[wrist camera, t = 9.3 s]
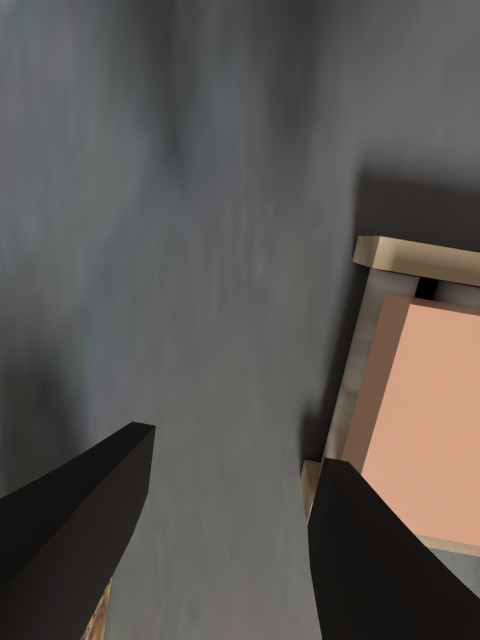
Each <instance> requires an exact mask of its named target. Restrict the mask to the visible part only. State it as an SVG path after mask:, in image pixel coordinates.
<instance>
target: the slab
mask: <svg viewBox="0 0 480 640" xmlns="http://www.w3.org/2000/svg"><path fill="white" fill-rule="evenodd" d="M341 460H343V461H348V462H350V463H351V464H352V466H353V467H354V468H355V469H356V470H357V471H358V472H359V473H360V474H361V475H362V477H363V478H364V479H365V480H366V481H367V482H368V483H369V485H370V486H371V487H372V488H373V489H374V490H375V491H376V493H377V494H378V495H379V496H380V497H381V498H382V499H383V501H384V502H385V503H386V504H387V505H388V506H389V507H390V508H391V510H392V511H393V512H394V513H395V514H396V515H397V516H398V517H399V518H400V520H401V521H402V522H403V523H404V524H405V525H406V526H407V527H408V528H409V529H410V530H411V531H412V533H413V534H418V535H423V536H428V537H434V538H439V539H444V540H449V541H455V542H460V543H465V544H471V545H476V546H480V309H479V308H473V307H468V306H462V305H456V304H450V303H444V302H439V301H433V300H427V299H421V298H416V297H410V296H404V295H398V294H392V293H387V292H386V293H385V297H384V301H383V305H382V308H381V312H380V316H379V319H378V323H377V327H376V331H375V334H374V338H373V342H372V345H371V349H370V353H369V357H368V360H367V364H366V368H365V372H364V375H363V379H362V383H361V386H360V390H359V394H358V398H357V401H356V405H355V409H354V412H353V416H352V420H351V424H350V427H349V431H348V435H347V438H346V442H345V446H344V450H343V453H342V457H341Z"/></svg>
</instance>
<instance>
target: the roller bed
mask: <svg viewBox="0 0 480 640" xmlns="http://www.w3.org/2000/svg"><path fill="white" fill-rule="evenodd" d="M352 262H355V263H358V264H361V265H364V266H368V267H371V268H370V272H369V276H368V280H367V284H366V288H365V292H364V296H363V300H362V304H361V308H360V312H359V316H358V319H357V323H356V327H355V331H354V335H353V339H352V343H351V347H350V351H349V355H348V359H347V363H346V367H345V371H344V375H343V379H342V382H341V386H340V390H339V394H338V398H337V402H336V406H335V410H334V414H333V418H332V422H331V426H330V430H329V434H328V438H327V442H326V445H325V449H324V453H323V457H322V461H321V462H316V461H311V460H304V464H303V468H302V472H301V477H300V481H301V487H302V494H303V501H304V508H305V515H306V522H307V524H308V520H309V516H310V512H311V508H312V504H313V500H314V497H315V493H316V489H317V485H318V481H319V477H320V473H321V469H322V465H323V461H324V457H326V458H332V459H337V460H341V457H342V453H343V450H344V446H345V442H346V438H347V435H348V431H349V427H350V424H351V420H352V416H353V412H354V409H355V405H356V401H357V398H358V394H359V390H360V386H361V383H362V379H363V375H364V372H365V368H366V364H367V360H368V357H369V353H370V349H371V345H372V342H373V338H374V334H375V331H376V327H377V323H378V319H379V316H380V312H381V308H382V305H383V301H384V297H385V293H386V292H387V293H392V294H398V295H404V296H410V297H414V296H415V293H416V289H417V286H418V282H419V279H420V277H418V276H422V277H428V278H434V279H440V280H439V281H438V284H437V287H436V291H435V294H434V297H433V301H439V302H444V303H450V304H456V305H462V306H468V307H473V308H479V309H480V287H479V286H480V253H477V252H471V251H465V250H459V249H453V248H447V247H442V246H436V245H430V244H424V243H418V242H412V241H406V240H400V239H394V238H388V237H382V236H358V239H357V243H356V248H355V252H354V256H353V260H352ZM414 275H416V276H414ZM474 285H475V286H474ZM414 535H415V536H416V537H417V538H418V539H419V540H420V541H421V542H422V543H423V544H424V545H425V546H426V547H430V548H436V549H441V550H446V551H451V552H457V553H462V554H467V555H472V556H478V557H480V546H476V545H471V544H465V543H460V542H455V541H449V540H444V539H439V538H434V537H428V536H423V535H418V534H414Z"/></svg>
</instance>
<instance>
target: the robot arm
mask: <svg viewBox="0 0 480 640" xmlns="http://www.w3.org/2000/svg"><path fill="white" fill-rule="evenodd" d="M155 429H156V426H154V425H148V424H143V423H137V422H131V423H129V424H128V425H126V426H125V427H123V428H122V429H120V430H118V431H117V432H115V433H114V434H112V435H111V436H109V437H108V438H106V439H104V440H103V441H101V442H100V443H98V444H97V445H95V446H93V447H92V448H90V449H89V450H87V451H85V452H84V453H82V454H81V455H79V456H77V457H76V458H74V459H72V460H71V461H69V462H68V463H66V464H64V465H62V466H60V467H59V468H57V469H55V470H53V471H51V472H50V473H48V474H46V475H44V476H42V477H41V478H39V479H37V480H35V481H33V482H32V483H30V484H28V485H26V486H24V487H22V488H20V489H19V490H17V491H15V492H13V493H11V494H9V495H7V496H4V497H2V498H0V640H81V638H82V636H83V634H84V632H85V630H86V628H87V626H88V624H89V622H90V620H91V618H92V616H93V613H94V611H95V609H96V607H97V605H98V603H99V601H100V599H101V597H102V595H103V593H104V591H105V589H106V587H107V585H108V583H109V581H110V579H111V577H112V575H113V573H114V571H115V569H116V567H117V565H118V563H119V561H120V559H121V557H122V555H123V553H124V551H125V549H126V547H127V545H128V543H129V541H130V539H131V537H132V535H133V532H134V530H135V527H136V524H137V522H138V519H139V517H140V514H141V511H142V508H143V506H144V503H145V500H146V497H147V494H148V488H149V479H150V471H151V462H152V454H153V446H154V437H155ZM308 543H309V559H310V570H311V576H312V582H313V588H314V594H315V600H316V606H317V612H318V617H319V623H320V629H321V634H322V640H480V598H479V597H477V596H476V595H475V594H474V593H473V592H472V591H471V590H470V589H469V588H468V587H466V586H465V585H464V584H463V583H462V582H461V581H460V580H459V579H458V578H457V577H456V576H455V575H454V574H453V573H452V572H451V571H450V570H449V569H448V568H447V567H446V566H445V565H444V564H443V563H442V562H441V561H440V560H439V559H438V558H437V557H436V556H435V555H434V554H433V553H432V552H431V551H430V550H429V549H428V548H427V547H426V546H425V545H424V544H423V543H422V542H421V541H420V540H419V539H418V538H417V537H416V536H415V535H414V534H413V533H412V531H411V530H410V529H409V528H408V527H407V526H406V525H405V524H404V523H403V522H402V521H401V520H400V518H399V517H398V516H397V515H396V514H395V513H394V512H393V511H392V510H391V508H390V507H389V506H388V505H387V504H386V503H385V502H384V501H383V499H382V498H381V497H380V496H379V495H378V494H377V493H376V491H375V490H374V489H373V488H372V487H371V486H370V485H369V483H368V482H367V481H366V480H365V479H364V478H363V477H362V475H361V474H360V473H359V472H358V471H357V470H356V469H355V468H354V467H353V466H352V464H351V463H350V462H348V461H343V460H337V459H332V458H326V457H324V461H323V465H322V469H321V473H320V477H319V481H318V485H317V489H316V493H315V497H314V500H313V504H312V508H311V512H310V516H309V520H308Z"/></svg>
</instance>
